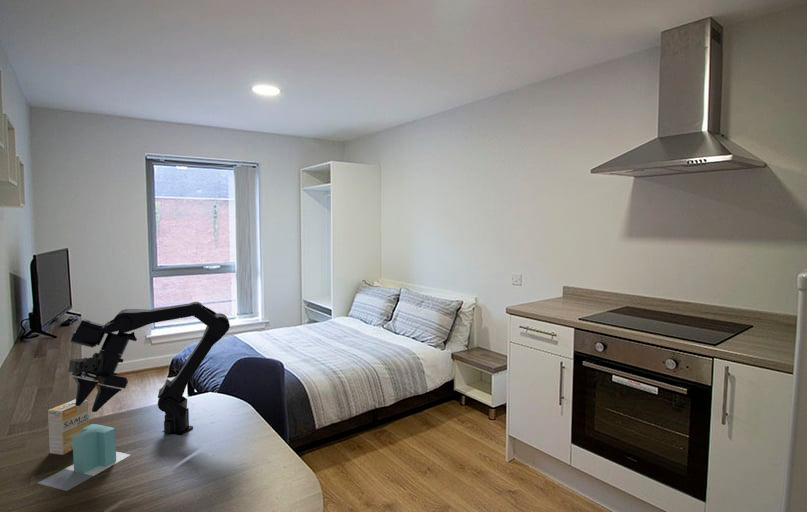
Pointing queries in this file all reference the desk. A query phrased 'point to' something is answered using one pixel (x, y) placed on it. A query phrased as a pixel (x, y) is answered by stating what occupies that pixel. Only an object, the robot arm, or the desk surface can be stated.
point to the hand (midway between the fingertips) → (85, 408)
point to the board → (76, 475)
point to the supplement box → (66, 425)
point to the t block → (94, 447)
